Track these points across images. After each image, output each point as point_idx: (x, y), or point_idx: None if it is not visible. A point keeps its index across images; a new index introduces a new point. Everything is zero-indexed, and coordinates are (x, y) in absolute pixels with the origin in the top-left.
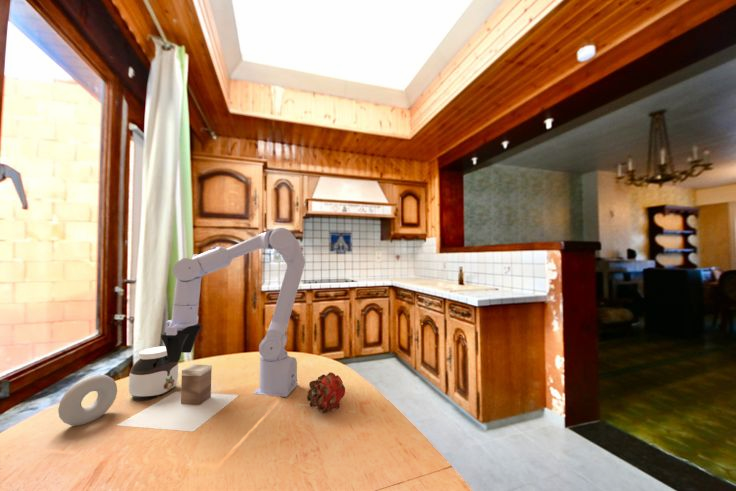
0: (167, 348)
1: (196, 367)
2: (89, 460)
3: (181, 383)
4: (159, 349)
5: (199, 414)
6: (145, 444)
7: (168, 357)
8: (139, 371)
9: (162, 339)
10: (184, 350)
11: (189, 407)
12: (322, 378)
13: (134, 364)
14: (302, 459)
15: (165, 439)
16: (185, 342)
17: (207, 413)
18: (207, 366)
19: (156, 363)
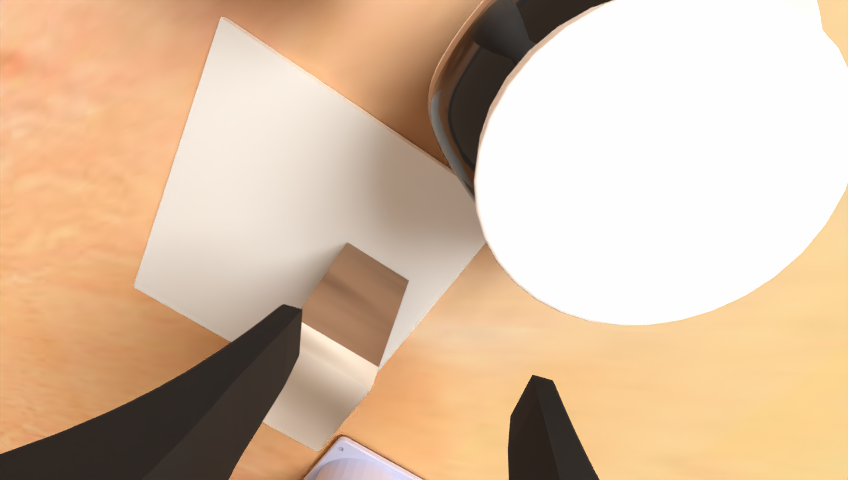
0: (181, 384)
1: (305, 397)
2: (21, 8)
3: (313, 291)
4: (642, 226)
5: (235, 301)
6: (99, 164)
7: (257, 327)
8: (455, 48)
9: (24, 448)
10: (527, 402)
11: (302, 272)
12: None
13: None
14: (33, 440)
15: (120, 215)
16: (537, 476)
17: (236, 321)
18: (305, 437)
19: (464, 185)
